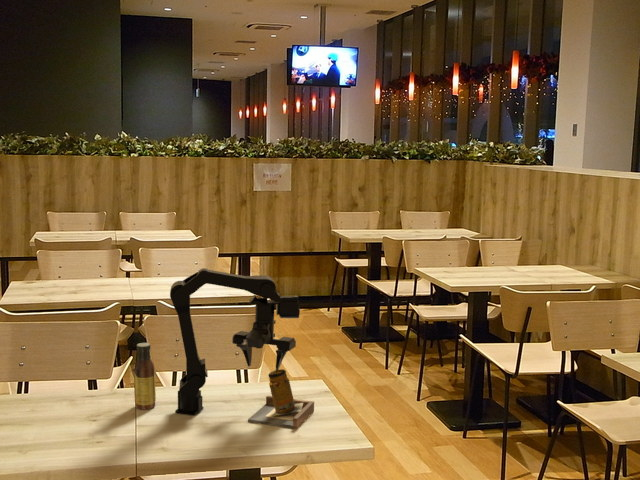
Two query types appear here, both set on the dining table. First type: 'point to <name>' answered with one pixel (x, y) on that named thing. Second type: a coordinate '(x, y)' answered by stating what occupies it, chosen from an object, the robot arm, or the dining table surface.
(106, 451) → the dining table surface
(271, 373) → the condiment
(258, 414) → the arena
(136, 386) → the sauce bottle
